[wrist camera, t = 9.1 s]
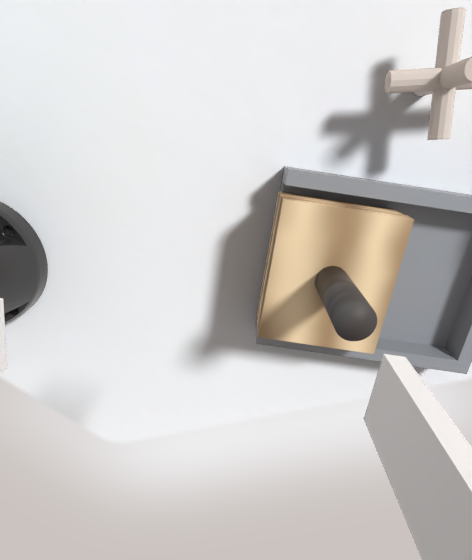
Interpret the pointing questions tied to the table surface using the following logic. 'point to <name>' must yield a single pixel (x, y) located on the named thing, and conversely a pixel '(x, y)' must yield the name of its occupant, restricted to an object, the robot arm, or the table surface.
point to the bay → (411, 270)
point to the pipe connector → (438, 75)
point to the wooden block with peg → (330, 272)
